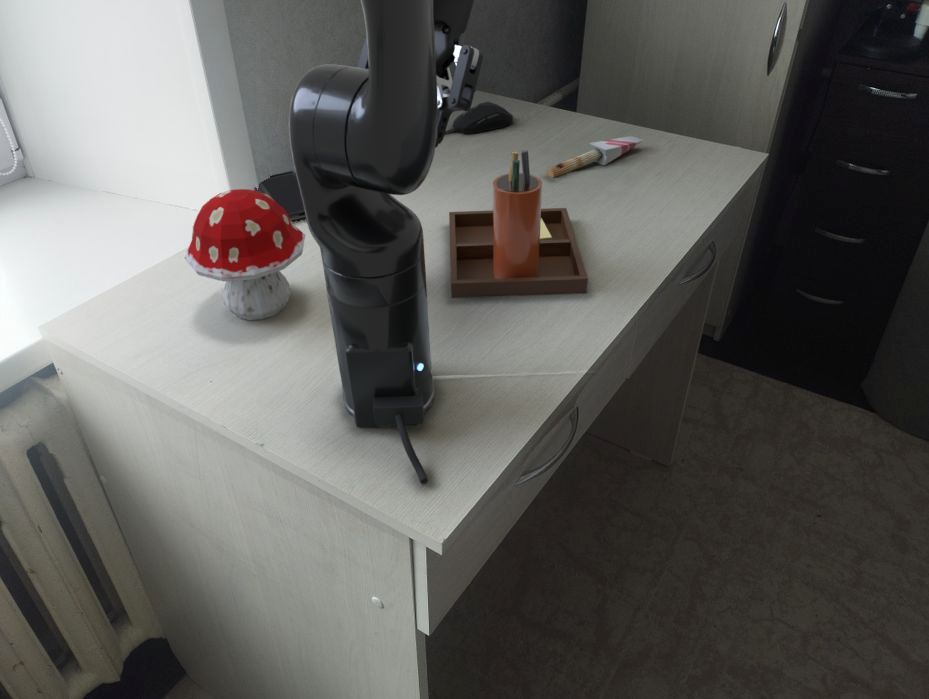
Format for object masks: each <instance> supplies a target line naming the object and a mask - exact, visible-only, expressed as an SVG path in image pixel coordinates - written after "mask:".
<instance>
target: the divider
mask: <svg viewBox="0 0 929 699" xmlns="http://www.w3.org/2000/svg"><path fill="white" fill-rule="evenodd" d="M456 248H457V259H479V258H493V242H482V243H457V244H456ZM569 251H570V240H569V239H567V240H540V249H539V256H564V255H569Z"/></svg>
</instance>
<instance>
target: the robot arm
mask: <svg viewBox="0 0 929 699" xmlns="http://www.w3.org/2000/svg"><path fill="white" fill-rule="evenodd" d="M360 4H361V8H362V13H363V18H364V24H365V32H366V34H365V38H364V42H363V45H362V48H361V51H360V55H359V58H358V62H357V66H351V65H344V64H335V63H327V64H320V65H317V66H314V67H312V68H310V69H309V70H308V71H306V72H305V73H304V74H303V76H301V78H300V79H299V81H298V82H297V84H296V86H295V88H294V91H293V93H292V97H291V100H290V106H289V113H288V138H289V146H290V150H291V151H290V152H291V157H292V162H293V168H294V171H295V172H296V176H297V180H298V185H299V189H300V193H301V198H302V202H303V206H304V211H305V216H306V218H305V220H306V224H307V226H308V230H309V232H310V234H311V236H312V238H313V239H314V241H315V243H317V245H318V247H319V249H320V256H321V262H322V268H323V273H324V280H325V285H326V286H325V288H326V293H327V301H328V308H329V312H330V318H331V325H332V332H333V338H334V344H335V350H336V356H337V362H338V368H339V375H340V381H341V387H342V399H343V406H344V408H345V410H346V412H347V413H348V414H349V415H350V417H352V418H353V419H354V423H355V427H356V428H378V427H380V428H381V427H384V428H385V427H386V428H388V427H397V429H398V433H399V436H400V439H401V443H402V445H403V449H404V450H405V452H406V455H407V457H408V459H409V461H410V463H411V465H412V467H413V469H414V470H415V473H416V475H417V477H418V480H419V483H420V484H421V485H426V484H427V483H428V482H429V479H428V477H427V474H426V472H425V469H424V466H423V465H422V463H421V461H420V459H419V458H418V455H417V454H416V452H415V449H414V448H413V445H412V444H413V443H412V442H411V439H410V437H409V433H408V430H407V426H417V425H423V424H424V422H425V421H424V416H425V413H427V411H429V409H430V407H432V404H433V402H434V400H435V384H434V380H433V379H434V378H433V364H432V351H431V335H430V321H429V307H428V306H429V305H428V304H429V303H428V292H427V291H428V288H427V273H426V270H427V269H426V256H425V242H424V229H423V225H422V222H421V220H420V218H419V217H418V215H417V214H416V213H415V212H414V211H413V210H412V209H410V207H408V206H406V205H404V204H403V203H402V202H401V201H399V200H398V199H397V198H396V197H394V196H405V195H410V194H411V193H413V192H415V191H416V190H418V189H419V188H420V187H421V185H422V184H423V183H424V182H425V181H426V178H427V177H428V174H429V173H430V170H431V166H432V164H433V160H434V156H435V152H436V148H437V147H438V146H439V144H440V145H441V144H442V142H443V140H444V138H445V134H446V133H445V131H447V128H448V124H449V120H450V117H451V115H452V114H453V113H454V112H460V111H461V112H462V111H463V112H465V111H468V110H469V109H471V108H472V103H473V100H474V96H475V92H476V89H477V84H478V80H479V77H480V72H481V67H482V64H483V61H484V60H483V59H484V53H483V52H482V51H481V50H479V49H478V48H475V47H473V46H471V45H469V44H463V45H460V40H461V37H462V35H463V34H465V33H466V30H467V28H468V24H469V20H470V17H471V13H472V10H473V6H474V4H475V0H360ZM453 63H454V64H455V70H454V73H453V76H452V73H451V69H450V66H451V65H452V64H453Z"/></svg>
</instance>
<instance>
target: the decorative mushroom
mask: <svg viewBox="0 0 929 699" xmlns="http://www.w3.org/2000/svg"><path fill="white" fill-rule="evenodd" d="M191 232H192V234H191V240H190V243H189V245H188V248H187V251H186V252H185V255H184V259H185V261H186V263H187V264H188V265H189V266H190V267H191V268H192V269H193V271H195V273H196V274H197V275H198V276H201V277H205V278H209V279H211V280H212V279H213V280H216V281H221V282H225V283H224V286H223V290H222V302H223V304H224V305H225V307H226V308H227V309H228V310H229V311H230V312H231V313H232V314H233V315H234V316H236V317H237V318H241V319H243V320H247V321H256V320H257V321H258V320H265V319H267V318H268V319H269V318H270V317H272V316H275V315H277V314H279V313H280V312H281V311H282V310H283V309H284V308H285V307H286V305H287V304H288V302H289V300H290V296H291V295H290V294H291V285H290V283H289V281H288V279H287V277H286V276H285V275H284V274H283V273H282V272H281V271H282V270H285V269H286V268H287V267H289V266H290V265H291V264H293V263H294V262H295V261H296V260H297V259H299V258H300V257H301V256H302V255H303V251H304V247H305V246H304V245H305V240H306V234H305V233H304V232H303V231H302V230H301V229H300V228H298V227H297V226H296V225H295V224H294V223H293V221H291V220H290V218H289V216H288V214H287V212H286V211H285V209H284V208H282V207H281V206H280V205H279V204H278V203H277V202H275V201H274V200H273V199H272V198H270V197H269V196H268V195H266V194H264V193H261V192H258V191H256V190H255V189H249V188H240V189H239V188H238V189H231V190H230V189H229V190H226V191H223V192H220V193H218V194H216V195H214V196H213V197H211V198H210V199H209V200H208V201H207V202H205V203H204V204H203V205H201V207H200V210H199V212H198V214H197V215H196V218H195V220H194V223H193V225H192V231H191Z"/></svg>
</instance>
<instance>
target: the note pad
mask: <svg viewBox="0 0 929 699" xmlns="http://www.w3.org/2000/svg"><path fill="white" fill-rule="evenodd" d="M540 240H552V236H551V235H550V233H549V231H548V229H547V227H546V226H545V224H544V222H543V220H542V218H541V224H540Z"/></svg>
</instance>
